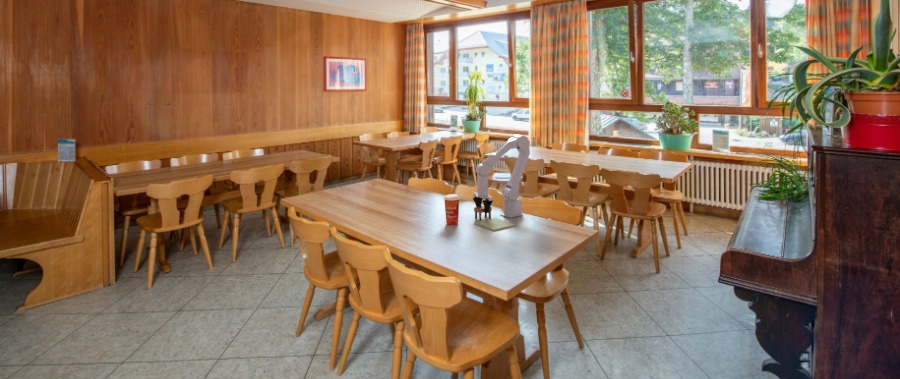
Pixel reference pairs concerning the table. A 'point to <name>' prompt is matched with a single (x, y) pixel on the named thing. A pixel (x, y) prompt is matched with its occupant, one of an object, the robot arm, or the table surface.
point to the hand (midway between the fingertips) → (482, 211)
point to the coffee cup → (452, 209)
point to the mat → (494, 224)
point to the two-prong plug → (481, 210)
